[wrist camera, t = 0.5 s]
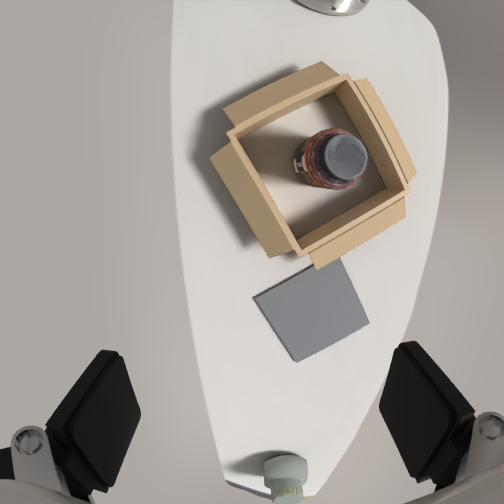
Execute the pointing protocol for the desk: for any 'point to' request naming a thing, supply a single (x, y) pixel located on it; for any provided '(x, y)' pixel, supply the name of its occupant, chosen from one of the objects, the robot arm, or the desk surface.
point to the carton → (373, 135)
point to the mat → (314, 309)
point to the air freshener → (285, 478)
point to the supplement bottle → (330, 159)
